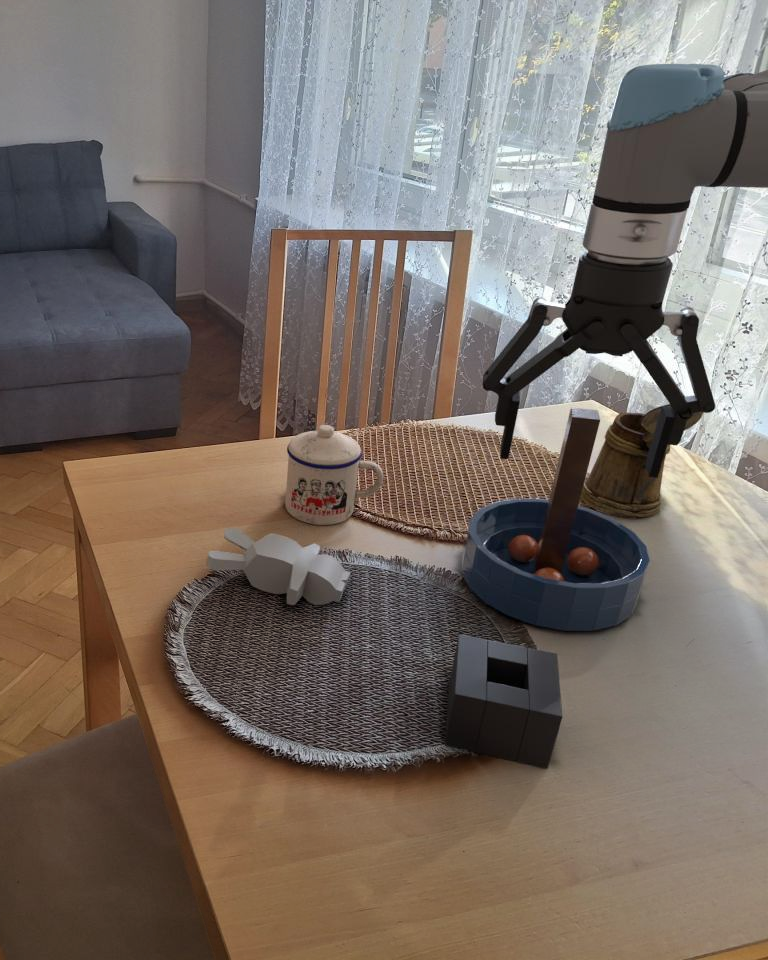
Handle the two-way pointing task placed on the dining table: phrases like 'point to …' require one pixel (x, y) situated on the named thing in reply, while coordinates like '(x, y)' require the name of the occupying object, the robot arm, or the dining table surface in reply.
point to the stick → (567, 488)
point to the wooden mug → (627, 468)
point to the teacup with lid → (325, 476)
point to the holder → (504, 701)
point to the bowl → (576, 597)
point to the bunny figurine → (283, 567)
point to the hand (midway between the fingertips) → (575, 462)
